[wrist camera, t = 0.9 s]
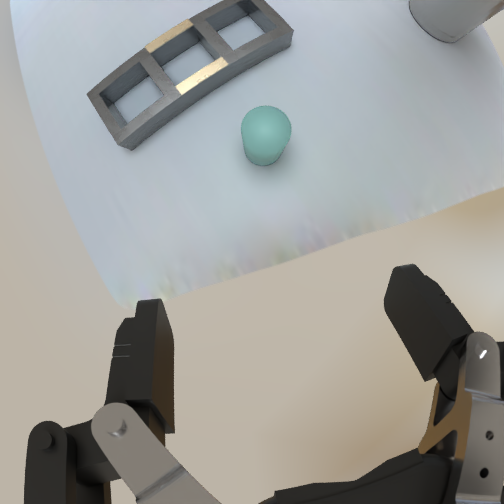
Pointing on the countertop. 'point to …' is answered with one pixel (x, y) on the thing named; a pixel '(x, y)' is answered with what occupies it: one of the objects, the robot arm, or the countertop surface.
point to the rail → (199, 84)
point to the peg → (265, 134)
